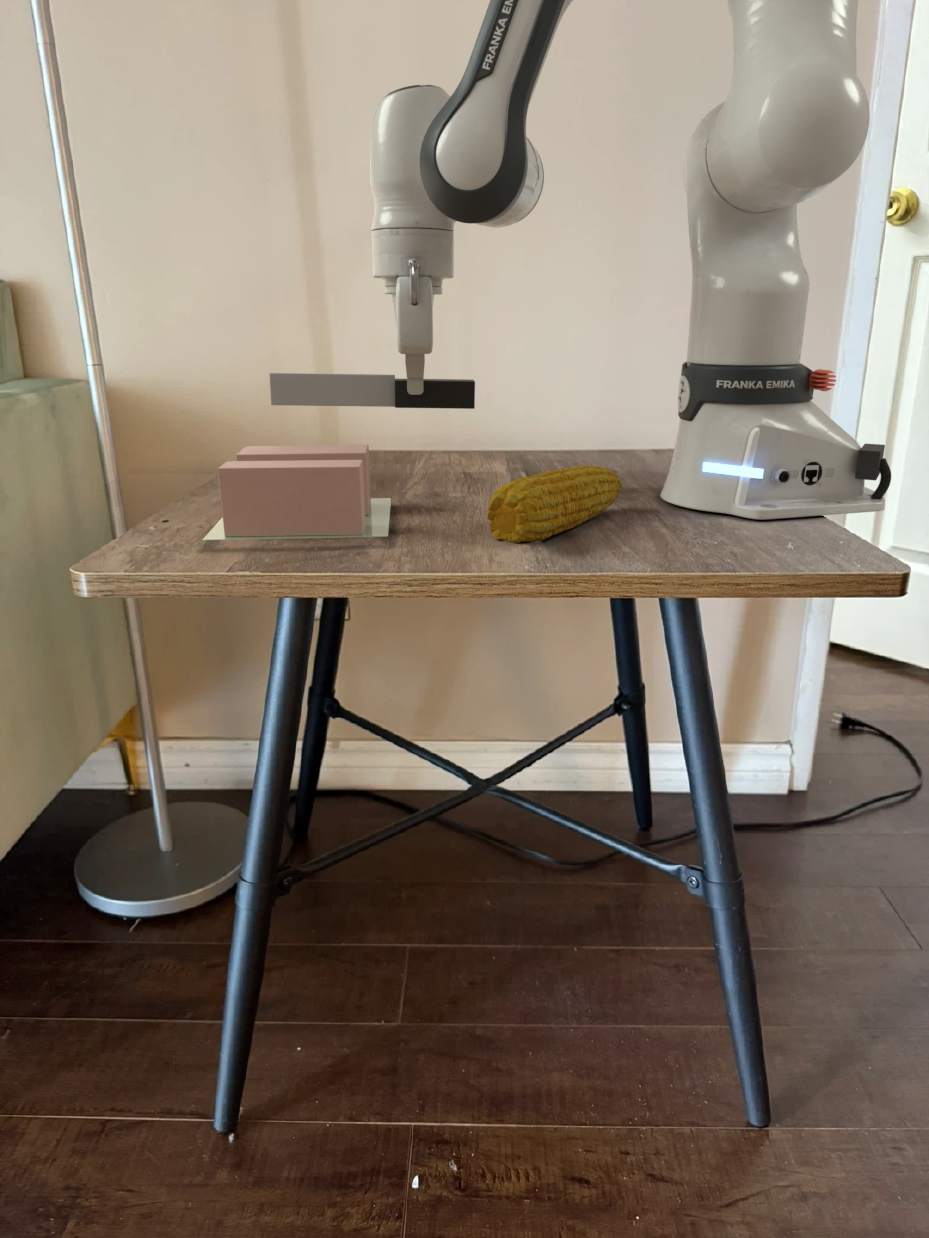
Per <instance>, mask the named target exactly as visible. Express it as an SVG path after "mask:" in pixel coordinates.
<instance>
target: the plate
mask: <svg viewBox="0 0 929 1238" xmlns="http://www.w3.org/2000/svg"><path fill="white" fill-rule="evenodd" d="M391 506H392V498H391V497H371V506H370V512H369V515H365V520H366V526H365V529H364V532H363V535H320V536H245V537H225V535H224V525H223V516H222V517H221V518H220V519H219V520H218V521H217V522H216V524H215V525H214V526H213V527H212V528H211V529H210V530H209V532H208V533H206V535H205V536H204V537H203V538H202V541H235V540H236V541H238V540H239V541H240V540H243V541H244V540H284V539H285V540H288V539H289V540H290V539H293V540H294V539H335V538H339V539H342V538H378V537H379V538H386V537H389V532H390V531H389V529H390V517H391V508H392V507H391Z"/></svg>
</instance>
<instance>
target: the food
mask: <svg viewBox="0 0 929 1238" xmlns="http://www.w3.org/2000/svg"><path fill="white" fill-rule="evenodd" d="M621 487H622V481H621V480H620V479H619V475H618V474H617V472H614V471H612V470H610V469H608V468H607V467H601V466H599V465H587V464H586V465H584V464H583V465H578V466H573V467H567V468H559V469H557V468H555V469H553V470H552V469H551V470H547V471H545V472H543V473H542V472H540V473H537V474H533V475H531V476H524V477H519V478H517V479H514V480H512V481H510V482H508V483H504V484H503V485H502V486H499V487H498V488H497V489H496V490H495V491H494V492H493V493H492V495H491V498H490V500H489V501H488V503H487V510H486V519H487V520H489V523H488V526H489V529H490V534H491V536H492V537H493V538H494V539H495V540H496V541H502V542H506V543H512V544H513V543H514V544H521V543H524V542H526V543H527V542H528V543H532V542H536V541H537V540H538V541H539V540H540V541H544V540H546V539H549V538H550V537H552V536H555V535H557V534H561V533H563V532H565V531H568V530H570V529H574V528H575V527H577V526H580V525H582V523H585V522H586V521H588V520H589V521H590V520H591V519H593V518H595V517H596V516H598V515H600V514H601V513H603V512H604V511H605V510H607V509H608V508H609V507H611V506H612V505H614V503H615V502H616V500H617V499H618V498H619V495H620V493H621Z"/></svg>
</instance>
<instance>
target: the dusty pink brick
mask: <svg viewBox="0 0 929 1238" xmlns="http://www.w3.org/2000/svg"><path fill="white" fill-rule="evenodd" d="M217 474H218V486H219V495H220V496H219V497H220V504H221V506H220V507H221V514H222V517H223V525H224V535H225V537H245V536H320V535H363V532H364V529H365V526H366V520H365V498H364V476H363V460H295V461H237V460H226V461H225V462H224V463H222V464H221V465H220V466H219V467H218V468H217Z"/></svg>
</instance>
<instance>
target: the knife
mask: <svg viewBox="0 0 929 1238" xmlns="http://www.w3.org/2000/svg"><path fill="white" fill-rule="evenodd" d="M268 376H269V390H270V391H269V392H270V405H271V406H302V407H303V406H304V407H306V406H307V407H316V406H317V407H381V408H382V407H383V408H384V407H388V408H391V407H392V408H395V409H455V410H456V409H457V410H459V409H461V410H462V409H463V410H464V409H465V410H467V409H471V410H475V408H476V407H475V406H476V405H475V403H476V402H475V401H476V400H475V399H476V381H475V380H474V379H459V378H457V379H456V378H454V379H452V378H423V384H424V391H423V393H422V394H421V395H410V394H409V393H408V391H407V378H396V374H380V373H379V374H376V373H375V374H374V373H373V374H370V373H367V374H366V373H311V372H309V373H306V372H305V373H304V372H303V373H301V372H269V375H268Z"/></svg>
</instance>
